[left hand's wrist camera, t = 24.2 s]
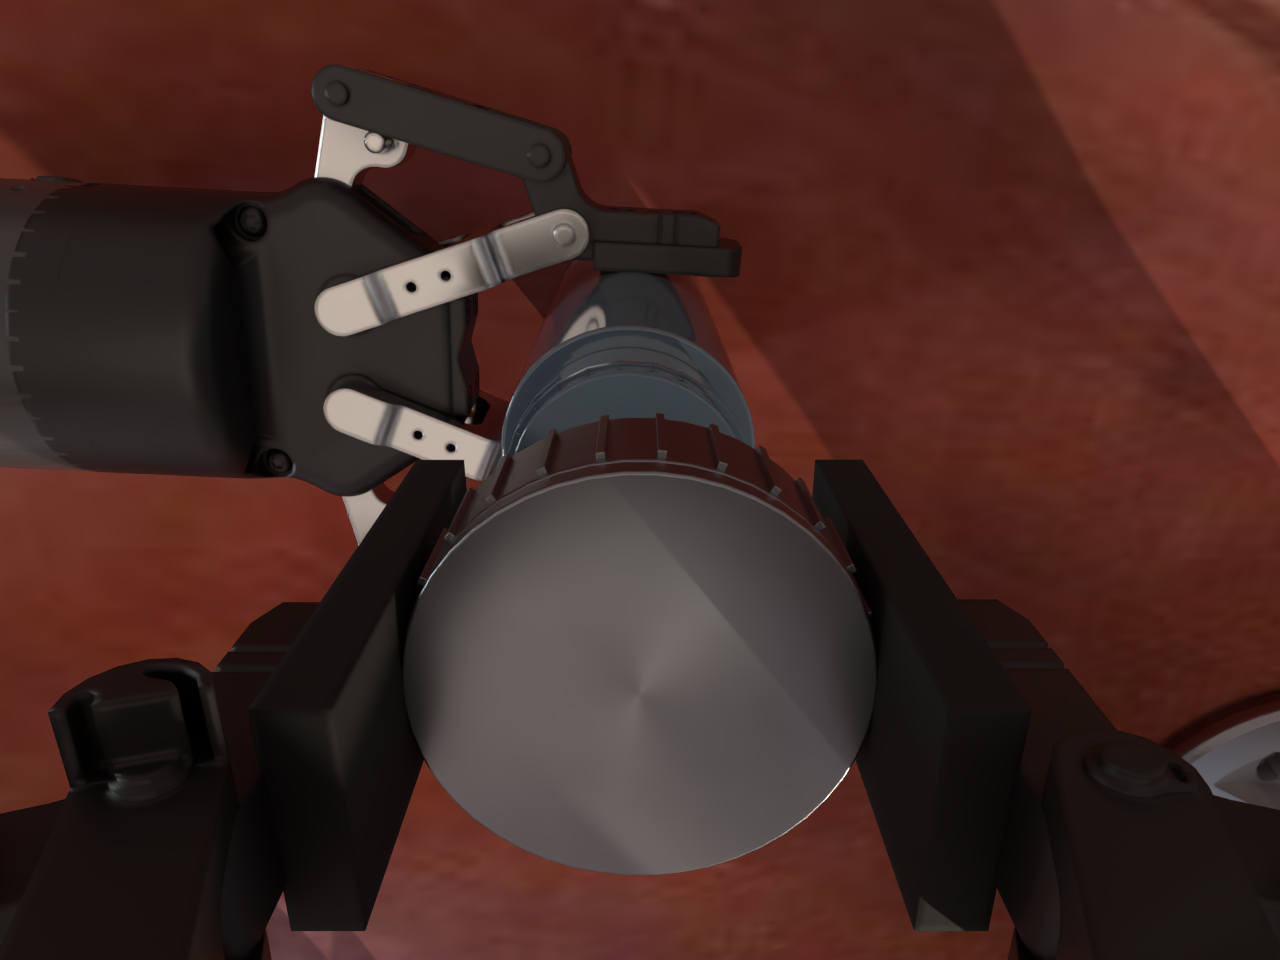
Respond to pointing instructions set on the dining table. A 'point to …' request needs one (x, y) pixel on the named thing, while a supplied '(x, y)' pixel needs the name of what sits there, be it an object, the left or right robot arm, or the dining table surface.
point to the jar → (625, 359)
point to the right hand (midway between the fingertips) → (724, 361)
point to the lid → (639, 650)
